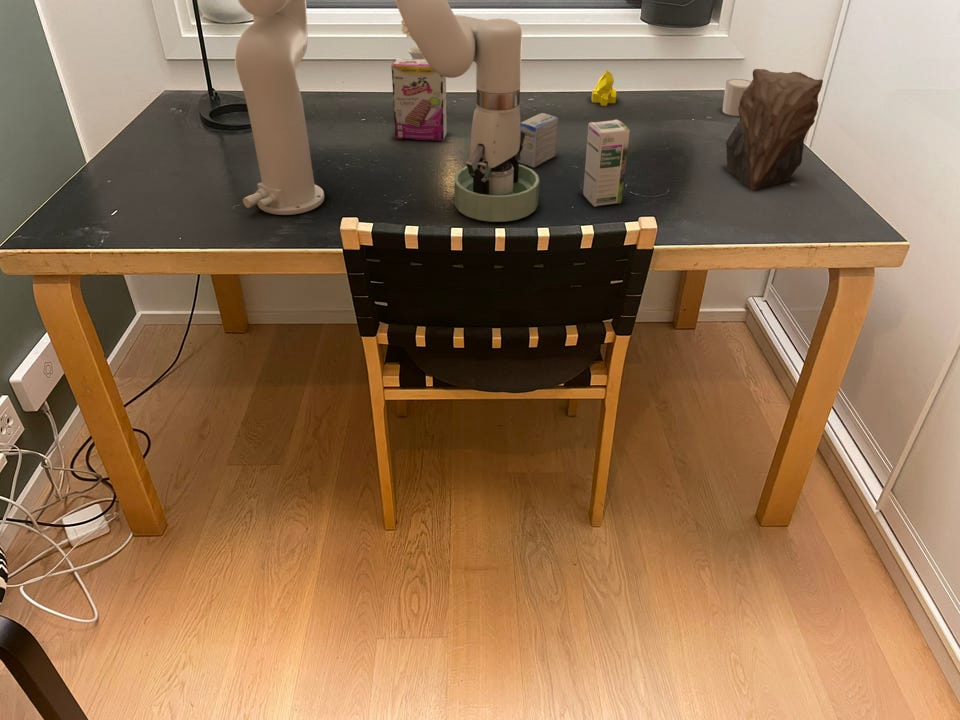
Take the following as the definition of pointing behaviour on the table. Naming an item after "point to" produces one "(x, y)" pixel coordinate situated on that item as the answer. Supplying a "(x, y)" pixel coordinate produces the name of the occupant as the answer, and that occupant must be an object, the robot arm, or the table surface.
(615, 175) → the syrup box
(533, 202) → the bowl
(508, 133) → the robot arm
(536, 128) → the medicine box
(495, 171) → the camera lens
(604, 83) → the yellow crystal cluster
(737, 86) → the white cylinder
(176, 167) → the table surface
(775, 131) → the owl
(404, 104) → the candy bar box
